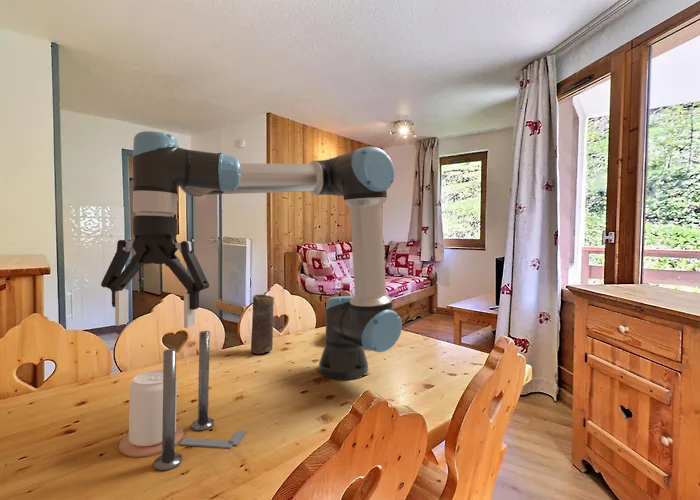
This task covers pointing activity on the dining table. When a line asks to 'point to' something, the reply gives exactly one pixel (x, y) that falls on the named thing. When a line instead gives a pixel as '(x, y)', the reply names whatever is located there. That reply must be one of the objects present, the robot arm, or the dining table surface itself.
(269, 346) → the candle
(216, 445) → the strip
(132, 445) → the pad
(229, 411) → the dining table surface
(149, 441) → the beverage can
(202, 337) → the gate posts
